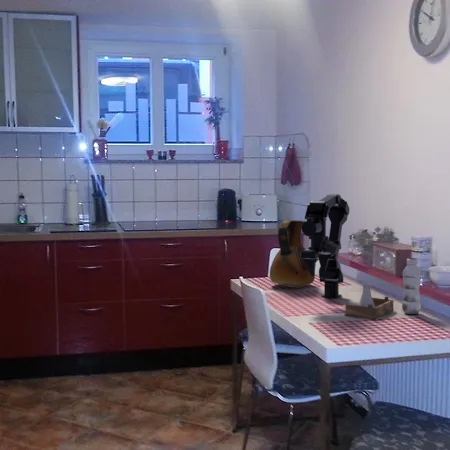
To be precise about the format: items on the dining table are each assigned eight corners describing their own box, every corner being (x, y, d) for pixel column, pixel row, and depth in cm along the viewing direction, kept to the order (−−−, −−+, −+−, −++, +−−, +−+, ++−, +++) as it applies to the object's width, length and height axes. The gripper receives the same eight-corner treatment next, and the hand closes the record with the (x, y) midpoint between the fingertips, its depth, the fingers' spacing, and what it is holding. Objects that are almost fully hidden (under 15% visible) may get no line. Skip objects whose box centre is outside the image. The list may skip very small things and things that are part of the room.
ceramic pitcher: (322, 284, 283) (322, 218, 280) (302, 292, 266) (302, 222, 263) (283, 281, 293) (282, 216, 290) (262, 288, 276) (261, 220, 273)
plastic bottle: (420, 312, 229) (421, 257, 227) (420, 316, 223) (421, 260, 221) (402, 311, 231) (403, 257, 229) (401, 315, 225) (402, 259, 223)
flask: (353, 309, 233) (354, 282, 232) (373, 308, 233) (373, 281, 232) (359, 313, 226) (359, 286, 225) (379, 313, 226) (379, 285, 225)
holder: (362, 306, 239) (363, 293, 239) (393, 310, 232) (393, 297, 232) (344, 315, 226) (344, 301, 225) (375, 319, 219) (376, 305, 218)
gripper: (326, 237, 228) (326, 280, 230) (348, 232, 243) (347, 272, 245) (299, 235, 235) (299, 277, 236) (321, 230, 250) (321, 269, 251)
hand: (318, 274), depth 242 cm, fingers open, 9 cm apart
